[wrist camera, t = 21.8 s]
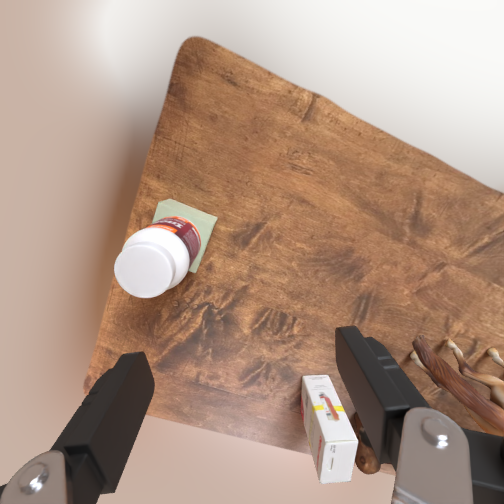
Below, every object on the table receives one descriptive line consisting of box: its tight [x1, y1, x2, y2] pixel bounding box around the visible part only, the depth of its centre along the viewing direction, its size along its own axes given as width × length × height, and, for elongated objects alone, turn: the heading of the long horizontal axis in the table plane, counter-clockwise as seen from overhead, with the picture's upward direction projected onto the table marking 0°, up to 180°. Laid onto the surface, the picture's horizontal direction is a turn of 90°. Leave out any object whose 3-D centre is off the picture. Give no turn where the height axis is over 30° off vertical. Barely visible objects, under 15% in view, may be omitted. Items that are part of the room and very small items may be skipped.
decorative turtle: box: [355, 412, 392, 474], centre depth 44 cm, size 10×15×8 cm, turn 130°
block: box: [152, 199, 217, 273], centre depth 33 cm, size 7×7×5 cm
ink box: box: [301, 375, 358, 484], centre depth 40 cm, size 9×5×12 cm, turn 0°
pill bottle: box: [114, 216, 201, 298], centre depth 25 cm, size 6×6×11 cm
